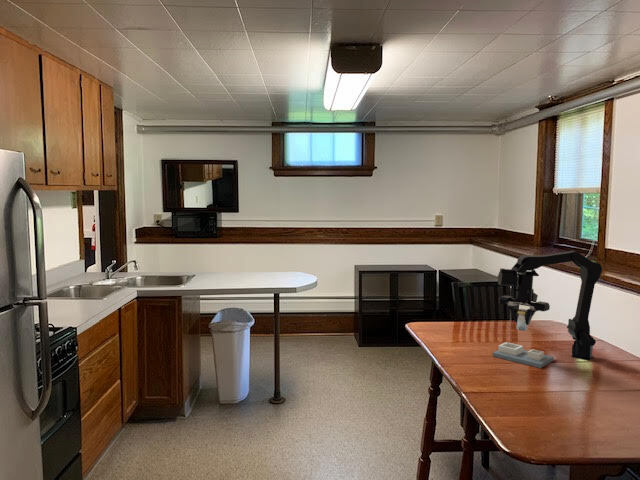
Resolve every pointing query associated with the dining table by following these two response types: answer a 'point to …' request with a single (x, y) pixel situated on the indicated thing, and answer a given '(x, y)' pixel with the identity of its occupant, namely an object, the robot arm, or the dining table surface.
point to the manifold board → (522, 355)
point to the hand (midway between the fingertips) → (522, 323)
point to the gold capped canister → (521, 319)
